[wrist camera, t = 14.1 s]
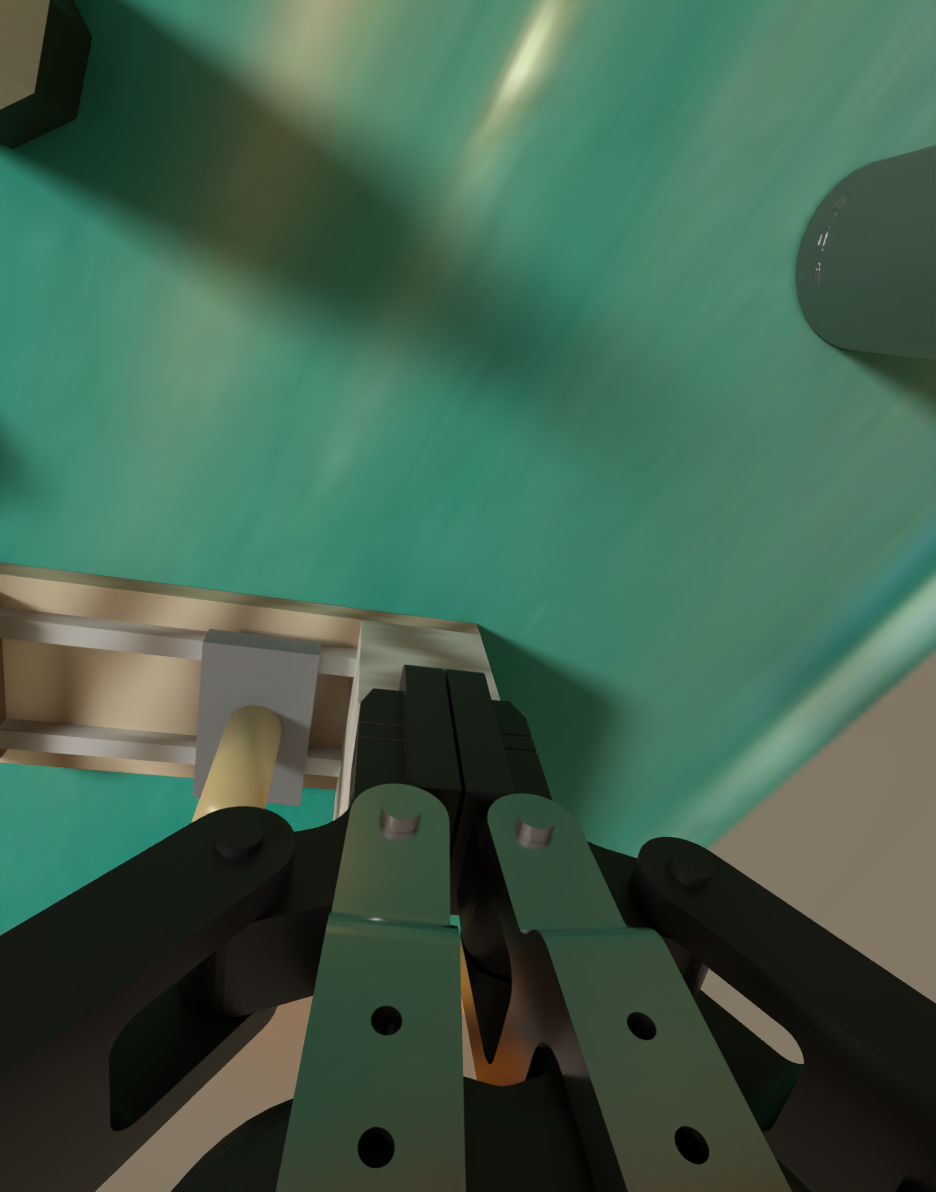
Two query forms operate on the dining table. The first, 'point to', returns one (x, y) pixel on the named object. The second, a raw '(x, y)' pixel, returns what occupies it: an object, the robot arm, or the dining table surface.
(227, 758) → the carriage
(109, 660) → the rail board
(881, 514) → the dining table surface
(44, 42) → the wine bottle
